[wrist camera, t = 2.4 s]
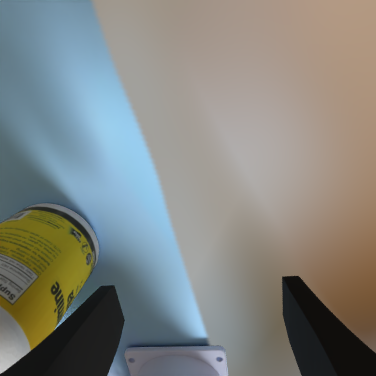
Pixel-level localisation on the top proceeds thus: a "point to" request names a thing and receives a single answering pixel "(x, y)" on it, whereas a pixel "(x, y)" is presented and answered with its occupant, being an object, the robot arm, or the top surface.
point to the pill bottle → (40, 274)
